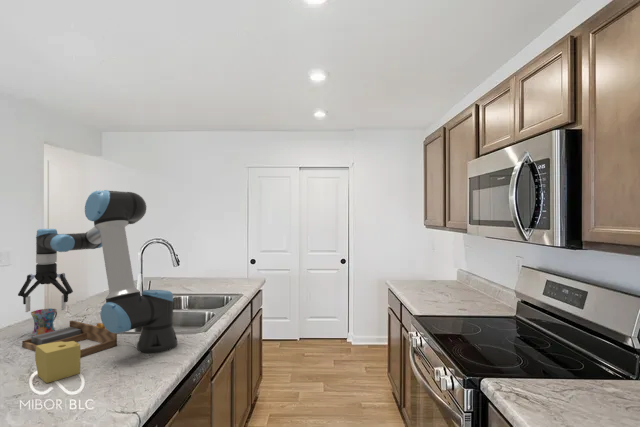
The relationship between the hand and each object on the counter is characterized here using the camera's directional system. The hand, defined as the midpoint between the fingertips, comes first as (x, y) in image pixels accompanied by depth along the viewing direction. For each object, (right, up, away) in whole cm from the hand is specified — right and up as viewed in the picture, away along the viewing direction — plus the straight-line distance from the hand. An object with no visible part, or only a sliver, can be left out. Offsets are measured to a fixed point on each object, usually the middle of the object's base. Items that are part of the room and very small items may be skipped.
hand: (45, 310), depth 167 cm
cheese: (+36, -11, -43) cm, 56 cm away
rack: (+21, -10, -16) cm, 29 cm away
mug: (0, -11, 0) cm, 11 cm away
